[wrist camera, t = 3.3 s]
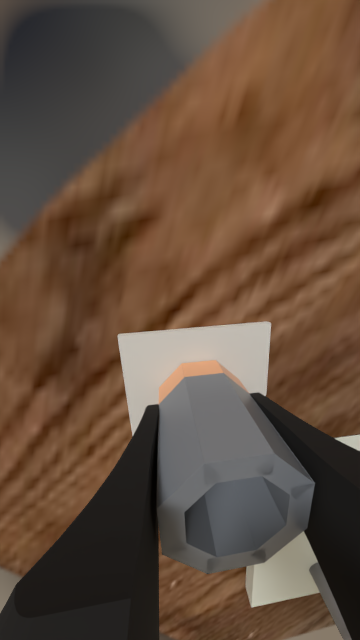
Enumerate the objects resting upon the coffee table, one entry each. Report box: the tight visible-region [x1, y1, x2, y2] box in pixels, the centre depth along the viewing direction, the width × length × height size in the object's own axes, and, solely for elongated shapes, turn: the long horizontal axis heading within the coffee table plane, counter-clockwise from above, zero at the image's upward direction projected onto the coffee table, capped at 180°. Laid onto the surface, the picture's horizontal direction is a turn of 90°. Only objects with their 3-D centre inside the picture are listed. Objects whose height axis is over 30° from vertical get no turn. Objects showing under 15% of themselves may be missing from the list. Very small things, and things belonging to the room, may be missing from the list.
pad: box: [118, 322, 271, 436], centre depth 12 cm, size 9×9×1 cm
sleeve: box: [156, 360, 315, 574], centre depth 9 cm, size 5×5×6 cm
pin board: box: [246, 435, 360, 640], centre depth 14 cm, size 12×17×5 cm
